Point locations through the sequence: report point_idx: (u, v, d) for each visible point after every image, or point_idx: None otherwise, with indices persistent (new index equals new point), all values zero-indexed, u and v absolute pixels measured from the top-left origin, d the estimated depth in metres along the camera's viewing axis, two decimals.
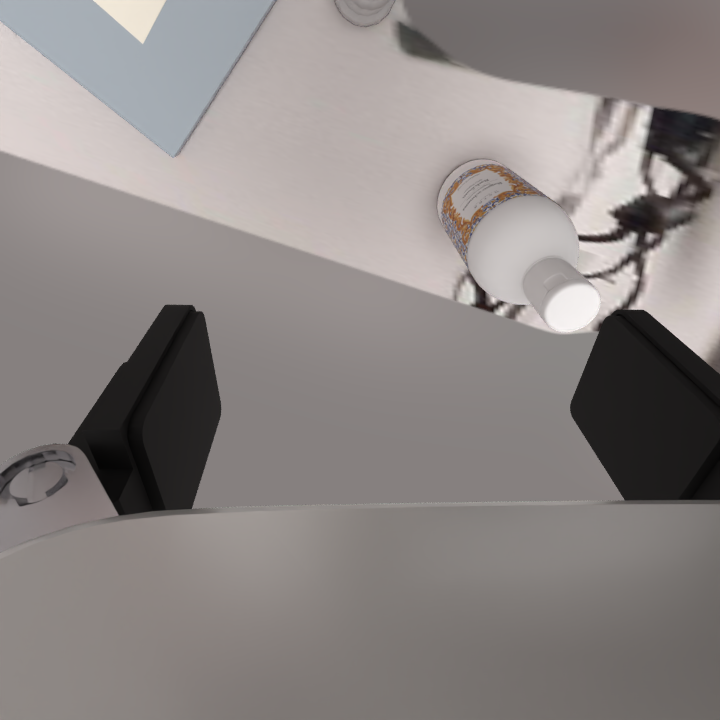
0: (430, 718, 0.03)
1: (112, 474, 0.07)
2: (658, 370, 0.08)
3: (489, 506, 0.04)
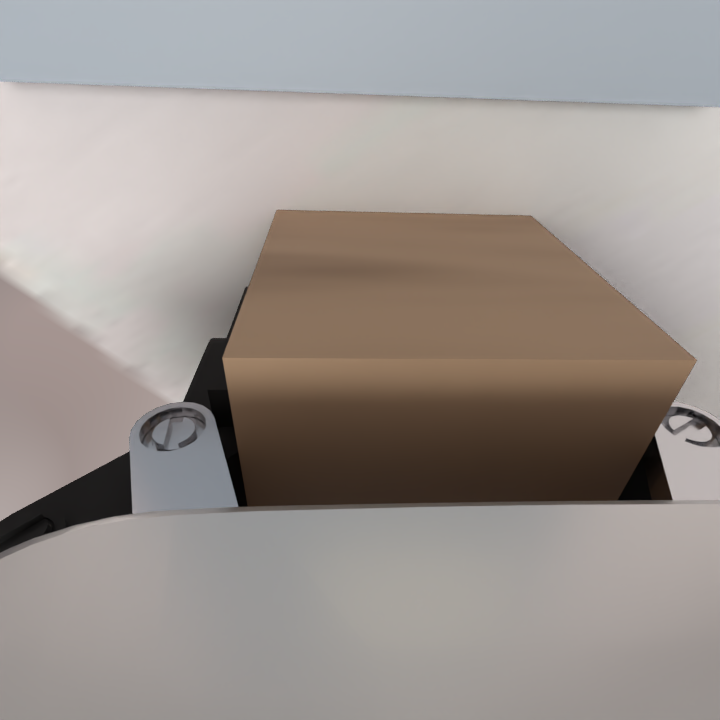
0: (430, 717, 0.03)
1: (228, 430, 0.07)
2: None
3: (489, 506, 0.04)
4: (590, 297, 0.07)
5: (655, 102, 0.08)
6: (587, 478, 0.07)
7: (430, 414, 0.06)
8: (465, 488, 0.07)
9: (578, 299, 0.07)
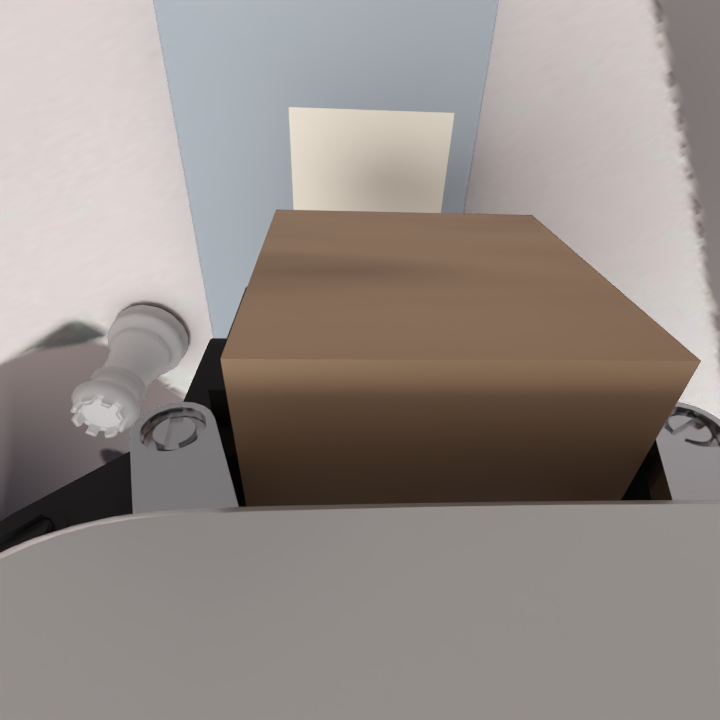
0: (430, 717, 0.03)
1: (228, 430, 0.07)
2: None
3: (489, 506, 0.04)
4: (592, 297, 0.07)
5: None
6: (589, 480, 0.07)
7: (431, 415, 0.06)
8: (466, 490, 0.07)
9: (580, 299, 0.07)
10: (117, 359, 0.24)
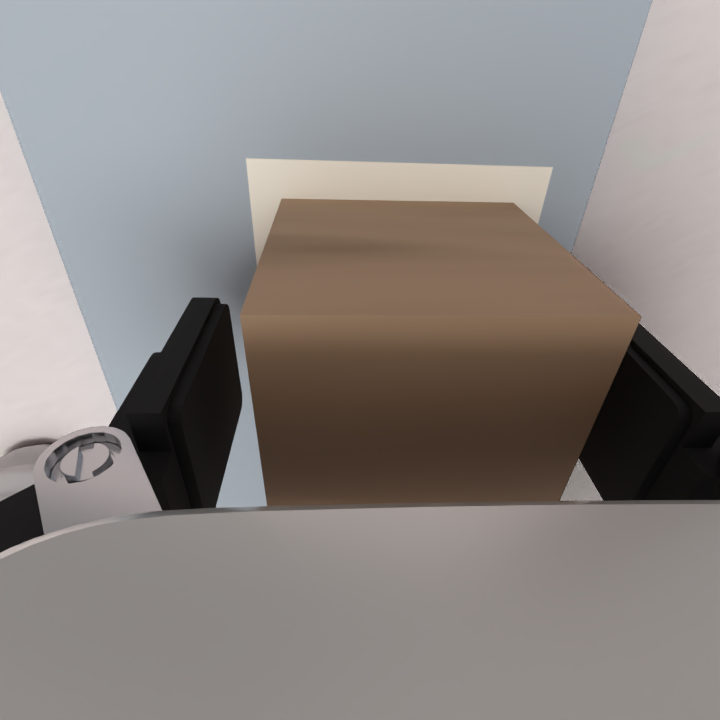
0: (430, 718, 0.03)
1: (152, 456, 0.07)
2: (625, 359, 0.09)
3: (489, 506, 0.04)
4: (558, 269, 0.08)
5: None
6: (555, 426, 0.08)
7: (416, 365, 0.07)
8: (448, 436, 0.08)
9: (547, 271, 0.08)
10: None
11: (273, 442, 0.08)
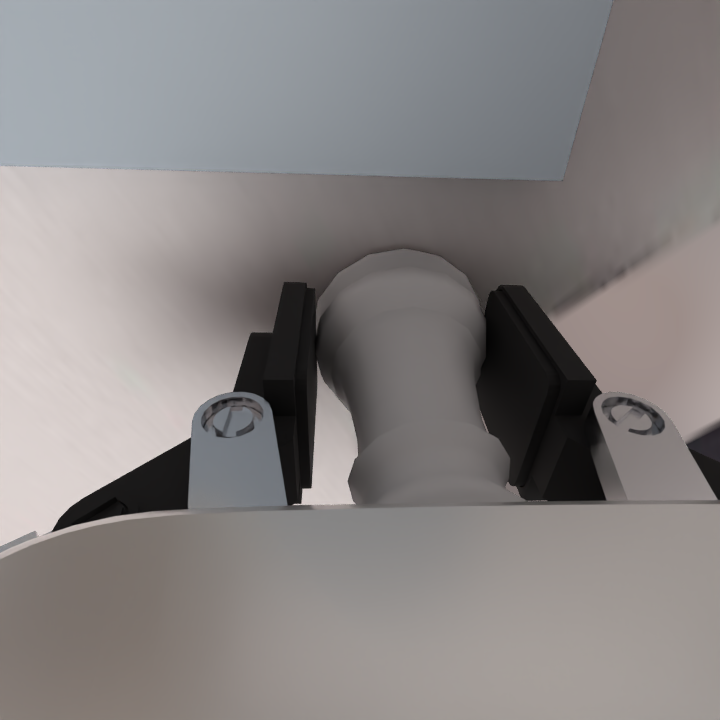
0: (430, 718, 0.03)
1: (280, 420, 0.08)
2: (517, 336, 0.09)
3: (489, 506, 0.04)
4: None
5: None
6: None
7: None
8: None
9: None
10: (358, 446, 0.08)
11: None
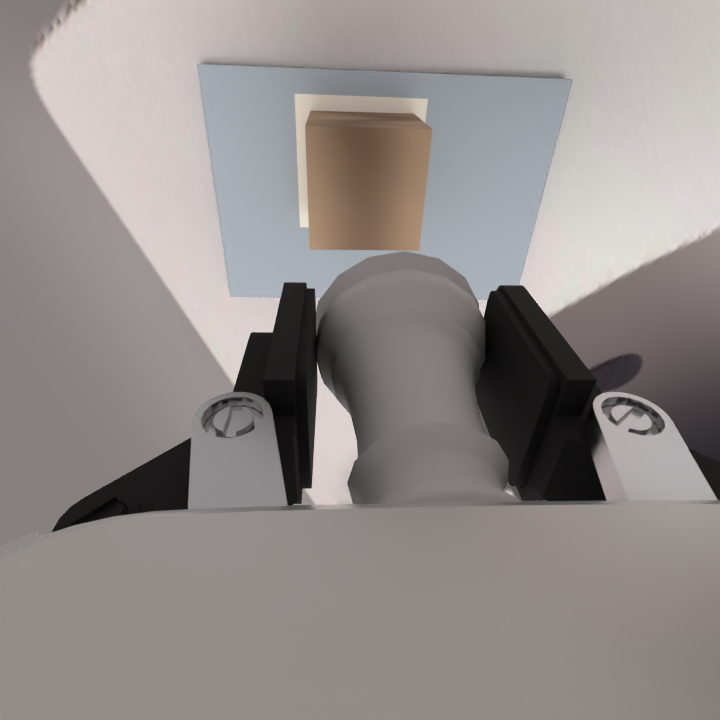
0: (430, 718, 0.03)
1: (280, 420, 0.08)
2: (517, 336, 0.09)
3: (489, 506, 0.04)
4: None
5: (562, 114, 0.27)
6: (353, 143, 0.21)
7: (325, 199, 0.23)
8: (356, 184, 0.22)
9: None
10: None
11: (357, 245, 0.24)
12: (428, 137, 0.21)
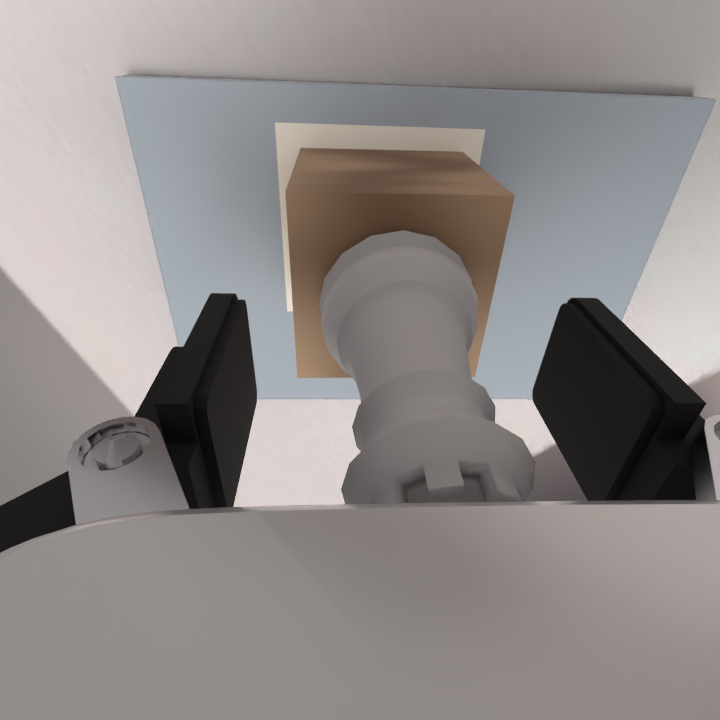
0: (430, 718, 0.03)
1: (178, 446, 0.07)
2: (602, 353, 0.09)
3: (489, 506, 0.04)
4: None
5: (692, 152, 0.17)
6: (372, 219, 0.12)
7: None
8: None
9: None
10: (361, 400, 0.10)
11: None
12: (506, 209, 0.12)
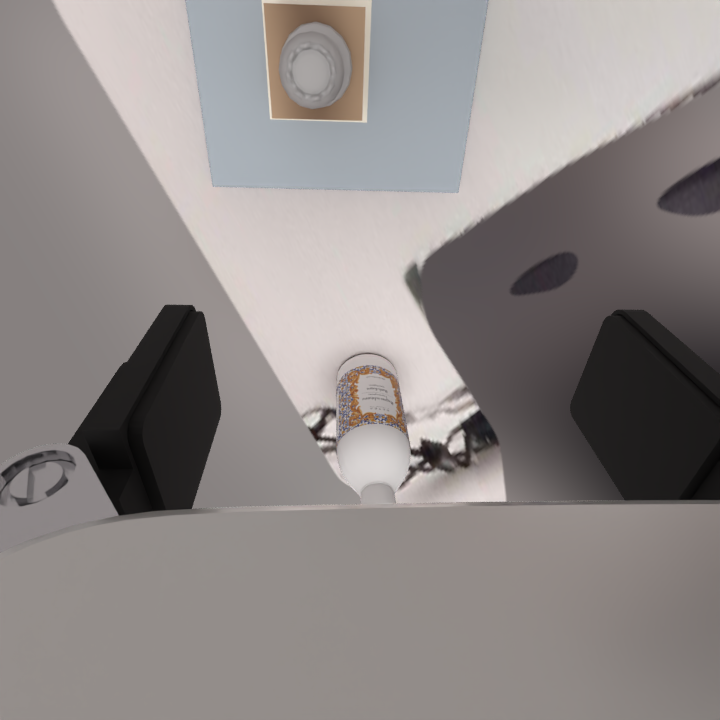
0: (430, 718, 0.03)
1: (112, 474, 0.07)
2: (658, 370, 0.08)
3: (489, 506, 0.04)
4: None
5: (485, 15, 0.32)
6: (302, 19, 0.27)
7: None
8: None
9: None
10: None
11: (311, 114, 0.30)
12: (362, 14, 0.27)
